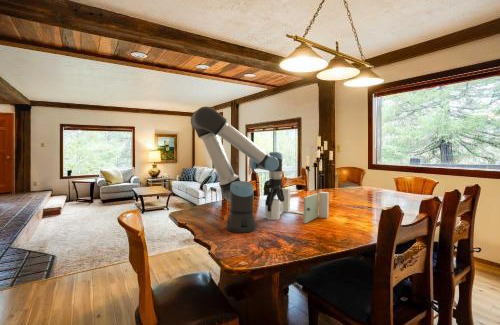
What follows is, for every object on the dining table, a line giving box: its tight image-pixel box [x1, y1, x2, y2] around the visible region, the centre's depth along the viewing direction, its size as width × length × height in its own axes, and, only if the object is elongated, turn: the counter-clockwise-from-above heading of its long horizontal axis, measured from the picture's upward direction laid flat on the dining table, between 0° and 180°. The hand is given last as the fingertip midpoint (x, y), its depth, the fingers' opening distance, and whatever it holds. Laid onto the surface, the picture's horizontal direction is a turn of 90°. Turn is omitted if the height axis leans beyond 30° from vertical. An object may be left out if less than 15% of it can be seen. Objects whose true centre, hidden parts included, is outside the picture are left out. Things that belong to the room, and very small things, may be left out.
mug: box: [264, 198, 284, 221], centre depth 156 cm, size 9×12×11 cm
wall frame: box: [282, 187, 330, 219], centre depth 166 cm, size 30×3×15 cm, turn 58°
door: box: [302, 190, 320, 224], centre depth 151 cm, size 19×3×16 cm, turn 144°
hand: (275, 214), depth 157 cm, fingers open, 13 cm apart
